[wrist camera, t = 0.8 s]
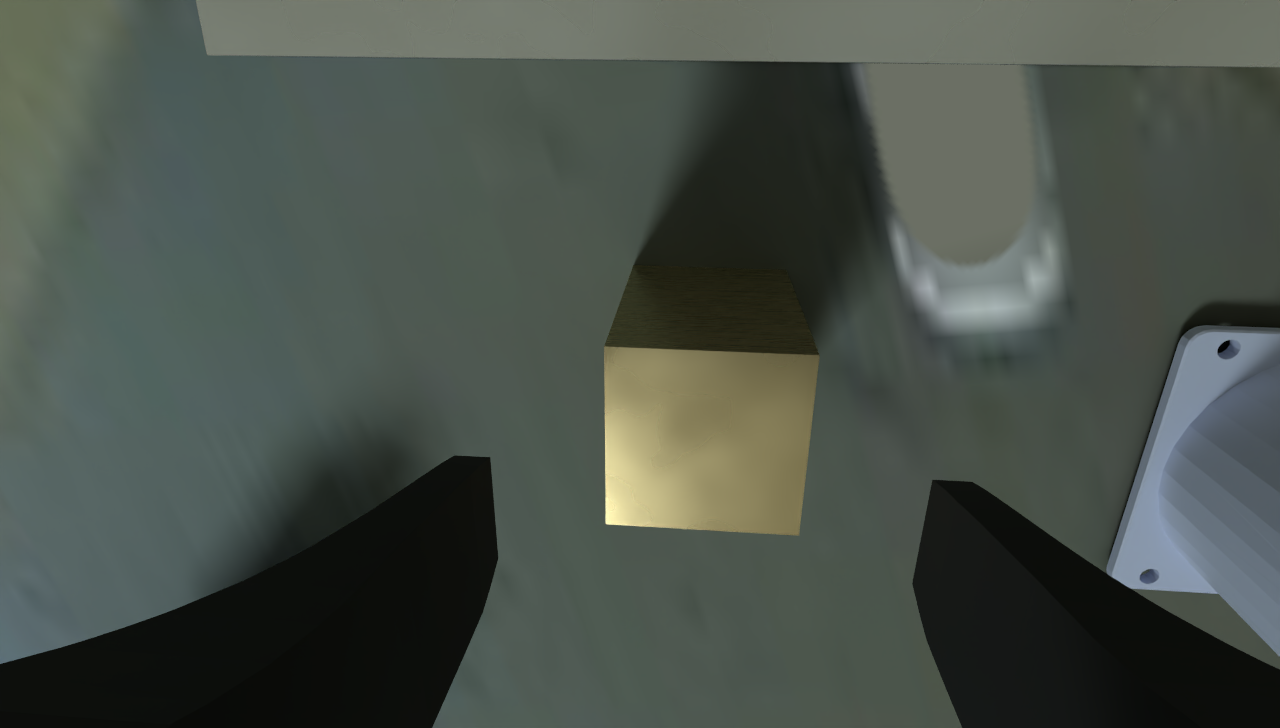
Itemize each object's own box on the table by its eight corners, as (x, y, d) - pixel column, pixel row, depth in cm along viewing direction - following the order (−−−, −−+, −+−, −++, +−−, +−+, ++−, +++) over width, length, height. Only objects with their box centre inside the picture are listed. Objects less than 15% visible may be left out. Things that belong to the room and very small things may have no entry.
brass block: (785, 269, 19) (819, 355, 13) (773, 407, 20) (798, 535, 15) (633, 264, 19) (604, 346, 14) (632, 400, 21) (605, 523, 15)
